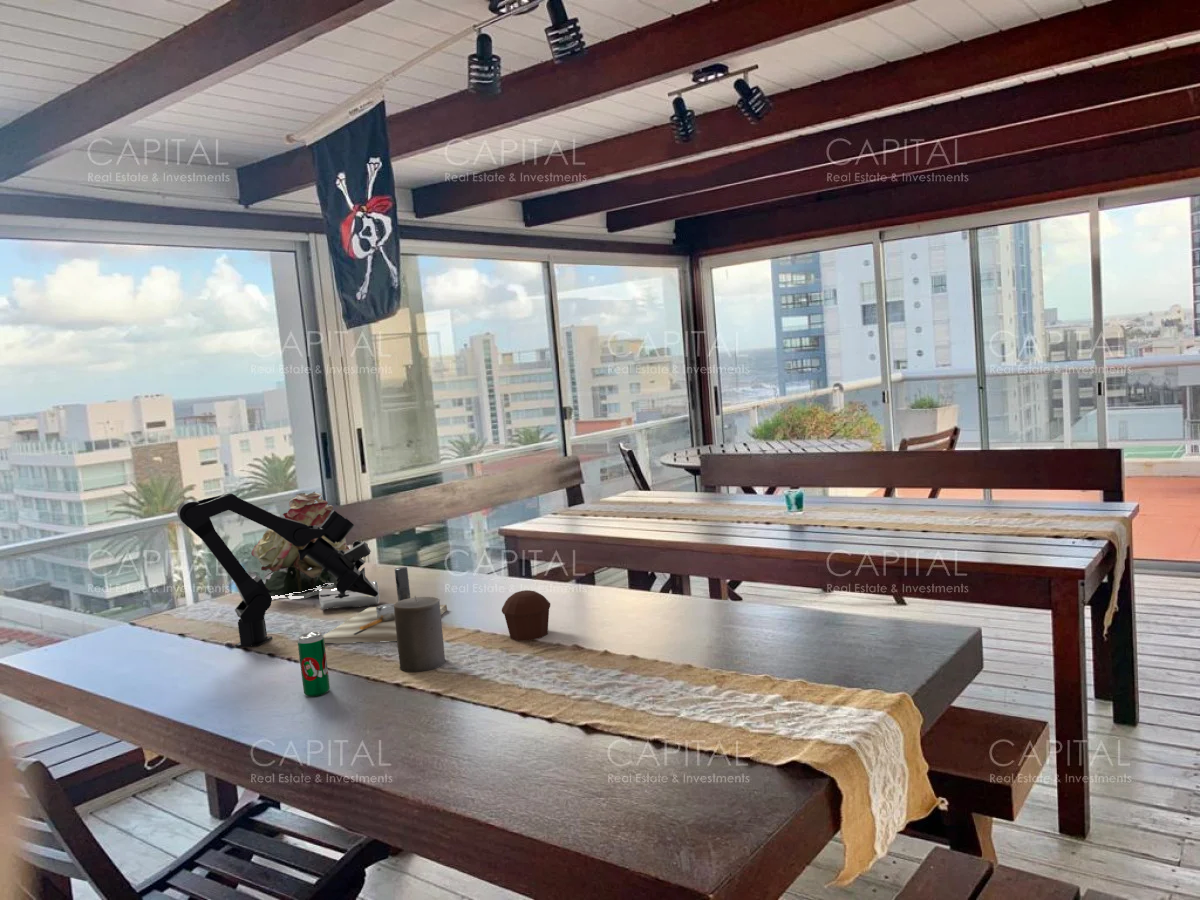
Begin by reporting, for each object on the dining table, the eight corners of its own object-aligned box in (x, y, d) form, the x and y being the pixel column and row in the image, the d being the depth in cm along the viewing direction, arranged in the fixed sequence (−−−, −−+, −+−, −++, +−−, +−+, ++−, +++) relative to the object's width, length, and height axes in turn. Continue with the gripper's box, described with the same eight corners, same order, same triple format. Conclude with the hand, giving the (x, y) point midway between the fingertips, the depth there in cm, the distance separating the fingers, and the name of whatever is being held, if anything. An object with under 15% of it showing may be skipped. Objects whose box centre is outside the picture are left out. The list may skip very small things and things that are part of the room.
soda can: (321, 686, 184) (314, 629, 183) (335, 690, 181) (328, 632, 180) (299, 695, 180) (291, 636, 179) (313, 699, 177) (306, 640, 176)
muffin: (497, 634, 210) (492, 592, 209) (540, 624, 215) (536, 583, 214) (516, 646, 200) (511, 602, 199) (561, 635, 205) (557, 592, 204)
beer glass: (320, 613, 244) (376, 606, 245) (317, 587, 244) (373, 580, 246) (326, 610, 251) (380, 603, 252) (323, 585, 251) (377, 578, 253)
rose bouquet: (247, 604, 262) (234, 503, 260) (302, 579, 291) (291, 487, 288) (326, 602, 256) (314, 498, 254) (375, 577, 285) (364, 483, 282)
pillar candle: (400, 675, 187) (393, 604, 185) (398, 661, 196) (391, 594, 195) (448, 667, 189) (441, 598, 188) (443, 654, 199) (437, 587, 197)
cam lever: (369, 630, 217) (364, 585, 216) (353, 628, 219) (348, 584, 218) (417, 608, 233) (412, 567, 232) (401, 608, 235) (397, 566, 234)
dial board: (406, 641, 210) (405, 634, 210) (320, 643, 215) (319, 636, 215) (447, 610, 236) (446, 603, 236) (369, 612, 240) (368, 606, 240)
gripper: (345, 539, 220) (395, 578, 223) (352, 527, 238) (399, 563, 241) (315, 574, 219) (366, 613, 222) (325, 559, 238) (372, 595, 240)
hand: (377, 594), depth 231 cm, fingers closed
